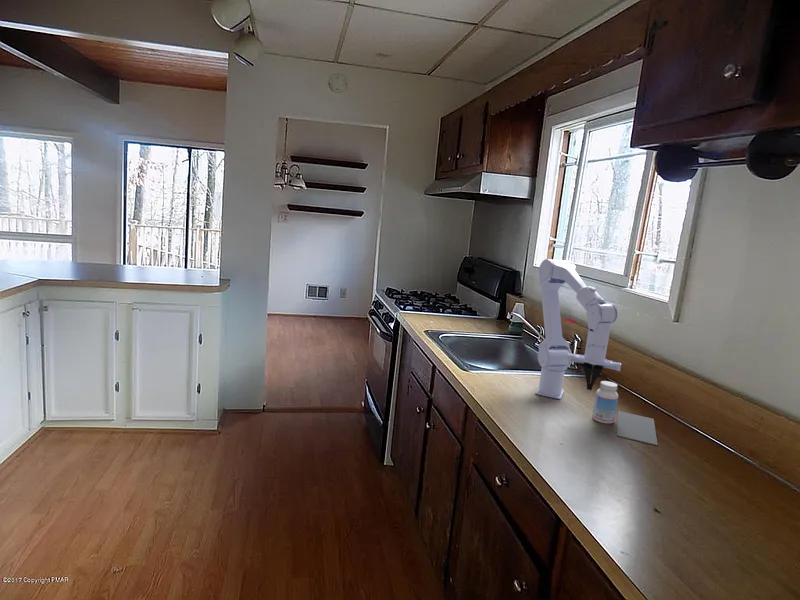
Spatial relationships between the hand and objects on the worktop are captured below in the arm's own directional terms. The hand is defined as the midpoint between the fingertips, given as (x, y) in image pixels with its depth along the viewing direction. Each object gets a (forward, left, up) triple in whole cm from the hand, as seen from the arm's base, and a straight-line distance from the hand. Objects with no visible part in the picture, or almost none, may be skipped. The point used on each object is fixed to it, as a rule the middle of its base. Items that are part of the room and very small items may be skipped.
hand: (589, 388), depth 150 cm
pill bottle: (0, +5, -9) cm, 10 cm away
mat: (0, +14, -8) cm, 16 cm away
